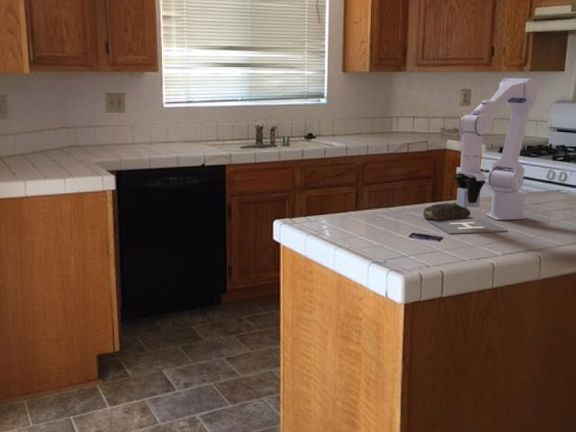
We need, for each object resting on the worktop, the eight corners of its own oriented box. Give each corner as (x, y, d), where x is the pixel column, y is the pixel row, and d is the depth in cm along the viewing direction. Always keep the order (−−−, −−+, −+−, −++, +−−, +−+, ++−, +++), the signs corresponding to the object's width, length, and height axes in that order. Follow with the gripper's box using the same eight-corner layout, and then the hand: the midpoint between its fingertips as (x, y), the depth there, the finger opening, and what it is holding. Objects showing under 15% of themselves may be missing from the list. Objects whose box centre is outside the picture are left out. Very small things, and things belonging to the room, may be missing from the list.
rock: (420, 218, 204) (420, 205, 204) (455, 213, 213) (455, 200, 212) (437, 221, 198) (438, 208, 197) (473, 216, 206) (473, 203, 205)
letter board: (482, 219, 203) (482, 218, 203) (507, 231, 188) (507, 230, 187) (428, 221, 200) (428, 220, 200) (449, 234, 185) (449, 232, 184)
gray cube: (471, 203, 195) (472, 187, 194) (479, 207, 190) (480, 190, 189) (456, 204, 194) (457, 188, 193) (463, 207, 190) (464, 190, 188)
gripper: (448, 153, 195) (445, 196, 198) (469, 159, 181) (466, 206, 184) (469, 152, 197) (467, 196, 200) (492, 158, 183) (489, 205, 186)
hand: (468, 200), depth 192 cm, fingers closed on gray cube, 5 cm apart
